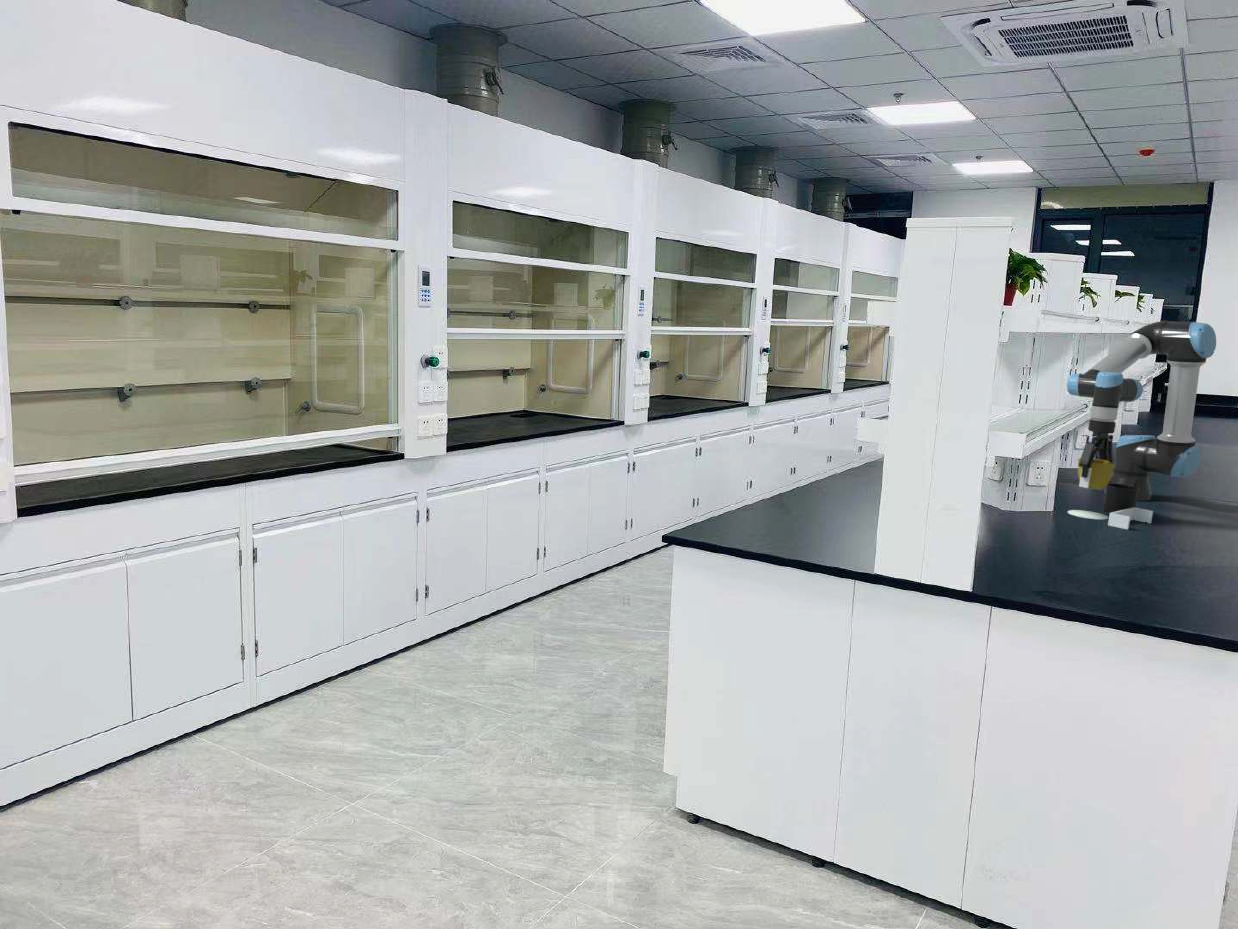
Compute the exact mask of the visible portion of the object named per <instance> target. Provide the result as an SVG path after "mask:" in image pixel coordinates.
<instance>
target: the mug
mask: <svg viewBox="0 0 1238 929" xmlns="http://www.w3.org/2000/svg"><path fill="white" fill-rule="evenodd" d="M1105 487H1106V492H1105V494H1104V499H1103V505H1102V510H1103V511H1104V512H1105V513H1109V514H1110V513H1111V512H1116V511H1120V510H1124V509H1129V508H1133V507H1135V508H1137V502H1138V500H1137V496H1138V490H1139V489H1138V488H1137V487H1134V486H1130V485H1123V484H1107V486H1105Z"/></svg>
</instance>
